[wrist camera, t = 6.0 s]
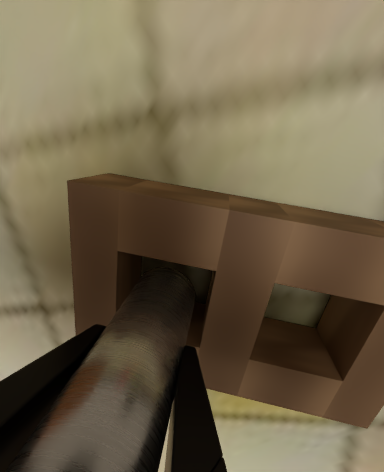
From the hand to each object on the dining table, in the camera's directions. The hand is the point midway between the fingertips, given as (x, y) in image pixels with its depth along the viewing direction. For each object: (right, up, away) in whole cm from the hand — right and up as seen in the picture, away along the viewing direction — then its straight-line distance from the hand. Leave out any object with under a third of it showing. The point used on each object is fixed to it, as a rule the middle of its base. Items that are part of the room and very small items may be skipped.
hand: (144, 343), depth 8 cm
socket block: (+4, +1, +5) cm, 7 cm away
